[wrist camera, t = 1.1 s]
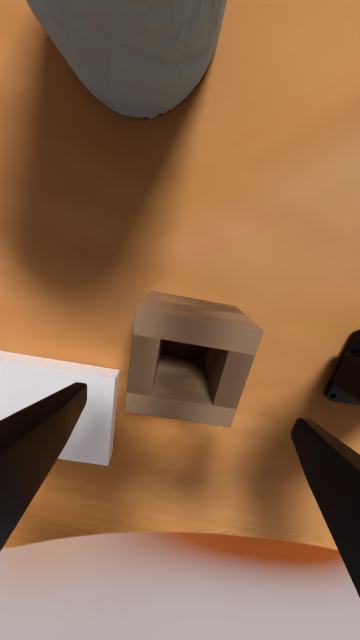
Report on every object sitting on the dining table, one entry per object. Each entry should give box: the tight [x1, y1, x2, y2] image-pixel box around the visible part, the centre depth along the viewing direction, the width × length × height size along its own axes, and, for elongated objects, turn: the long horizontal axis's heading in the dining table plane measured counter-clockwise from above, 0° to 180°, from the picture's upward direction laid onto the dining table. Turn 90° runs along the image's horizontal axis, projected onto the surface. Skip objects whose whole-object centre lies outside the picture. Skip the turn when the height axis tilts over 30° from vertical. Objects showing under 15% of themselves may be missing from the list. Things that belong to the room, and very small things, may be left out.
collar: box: [125, 291, 264, 427], centre depth 12 cm, size 6×6×5 cm
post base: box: [0, 351, 120, 466], centre depth 14 cm, size 10×10×6 cm
